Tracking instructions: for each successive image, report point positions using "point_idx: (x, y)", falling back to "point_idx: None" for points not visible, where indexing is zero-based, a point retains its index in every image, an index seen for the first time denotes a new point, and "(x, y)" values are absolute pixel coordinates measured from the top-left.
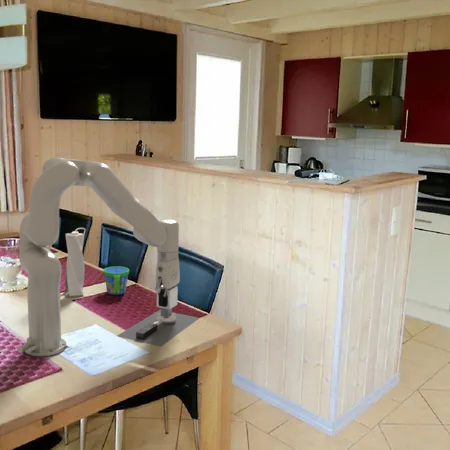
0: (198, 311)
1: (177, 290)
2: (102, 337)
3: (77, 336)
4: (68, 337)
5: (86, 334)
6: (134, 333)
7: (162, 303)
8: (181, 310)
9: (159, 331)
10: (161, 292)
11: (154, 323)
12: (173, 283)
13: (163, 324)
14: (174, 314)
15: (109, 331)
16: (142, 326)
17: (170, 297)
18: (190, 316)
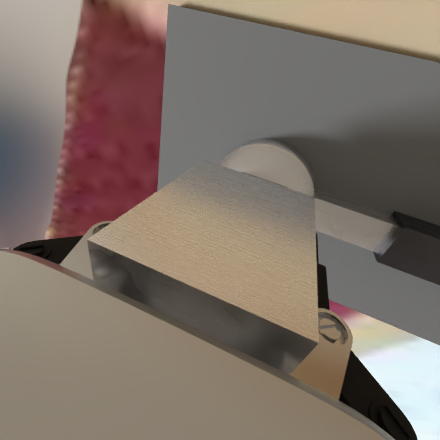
0: (84, 60)
1: (133, 209)
2: (433, 374)
3: (414, 418)
4: (421, 433)
5: (397, 401)
6: (431, 298)
7: (322, 276)
8: (113, 146)
9: (412, 198)
10: (408, 431)
11: (358, 239)
12: (165, 399)
13: (321, 193)
14: (236, 158)
15: (370, 354)
16: (339, 272)
17: (307, 253)
18: (169, 74)
